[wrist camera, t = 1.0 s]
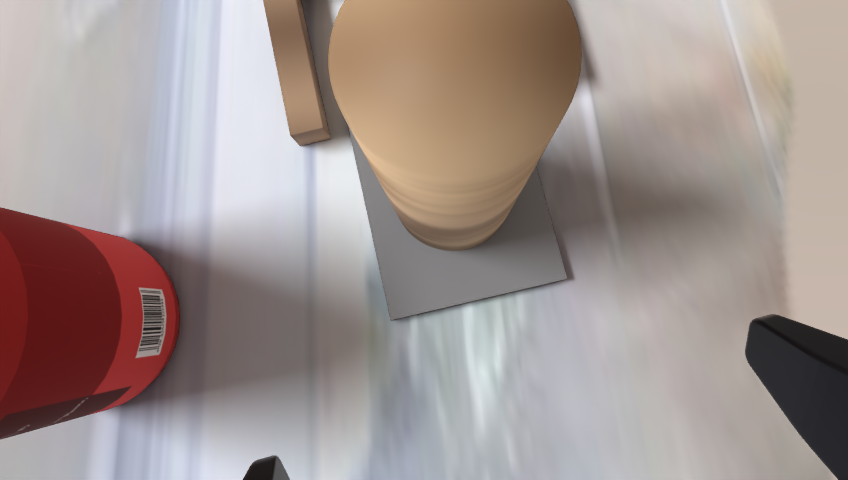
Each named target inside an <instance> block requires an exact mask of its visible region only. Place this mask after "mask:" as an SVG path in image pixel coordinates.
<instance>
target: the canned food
mask: <svg viewBox="0 0 848 480" xmlns="http://www.w3.org/2000/svg"><path fill="white" fill-rule="evenodd" d="M179 321H180V313H179V304H178V299H177V295H176V292H175V289H174V286H173V284H172V282H171V280H170V278H169V276H168V274H167V273H166V271H165V270H164V269H163V268H162V266H161V265H160V264H159V263H158V262H157V261H156V260H155V259H154V258H153V257H152V256H151V255H150V254H149V253H147V252H146V251H145V250H144V249H142V248H141V247H140V246H139V245H137V244H135V243H133V242H131V241H129V240H127V239H125V238H122V237H118V236H114V235H110V234H106V233H102V232H98V231H94V230H90V229H86V228H82V227H78V226H74V225H70V224H66V223H61V222H57V221H53V220H49V219H45V218H41V217H37V216H33V215H29V214H25V213H21V212H17V211H13V210H9V209H5V208H1V207H0V440H1V439H4V438H8V437H11V436H15V435H18V434H22V433H25V432H29V431H33V430H36V429H40V428H43V427H47V426H50V425H54V424H58V423H61V422H65V421H68V420H72V419H75V418H79V417H83V416H86V415H90V414H93V413H97V412H100V411H104V410H108V409H110V408H113V407H116V406H118V405H121V404H124V403H125V402H127V401H129V400H130V399H132V398H133V397H135V396H137V395H138V394H139V393H141V392H142V391H143V390H144V389H145V388H146V387H147V386H148V385H149V384H150V383H151V382H152V381H153V380H154V379H155V378H157V377H158V375H159V374H160V373H161V371H162V370H163V368H164V367H165V366H166V364H167V363H168V361H169V359H170V357H171V354H172V352H173V350H174V348H175V344H176V340H177V337H178V333H179Z"/></svg>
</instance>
